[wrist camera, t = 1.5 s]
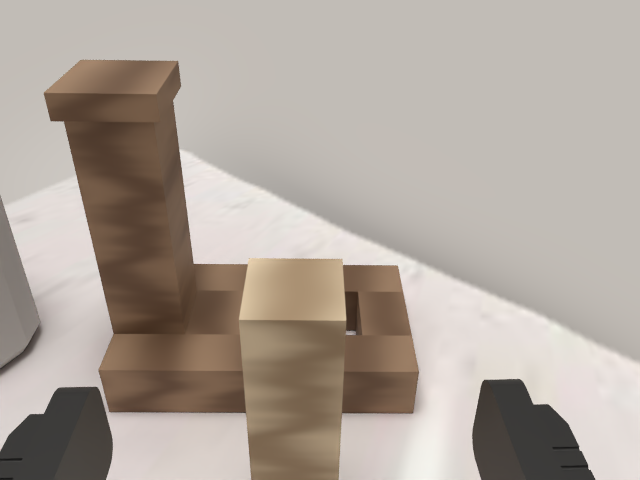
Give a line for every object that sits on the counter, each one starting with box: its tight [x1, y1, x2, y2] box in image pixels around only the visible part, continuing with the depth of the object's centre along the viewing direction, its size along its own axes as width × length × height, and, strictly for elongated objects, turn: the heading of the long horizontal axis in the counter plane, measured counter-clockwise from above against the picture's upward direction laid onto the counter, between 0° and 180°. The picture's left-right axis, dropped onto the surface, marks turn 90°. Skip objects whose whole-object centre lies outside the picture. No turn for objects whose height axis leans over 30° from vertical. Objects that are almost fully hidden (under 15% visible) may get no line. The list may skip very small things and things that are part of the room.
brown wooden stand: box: [44, 60, 419, 413], centre depth 40 cm, size 22×12×22 cm, turn 90°
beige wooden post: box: [239, 258, 346, 480], centre depth 29 cm, size 4×4×18 cm
